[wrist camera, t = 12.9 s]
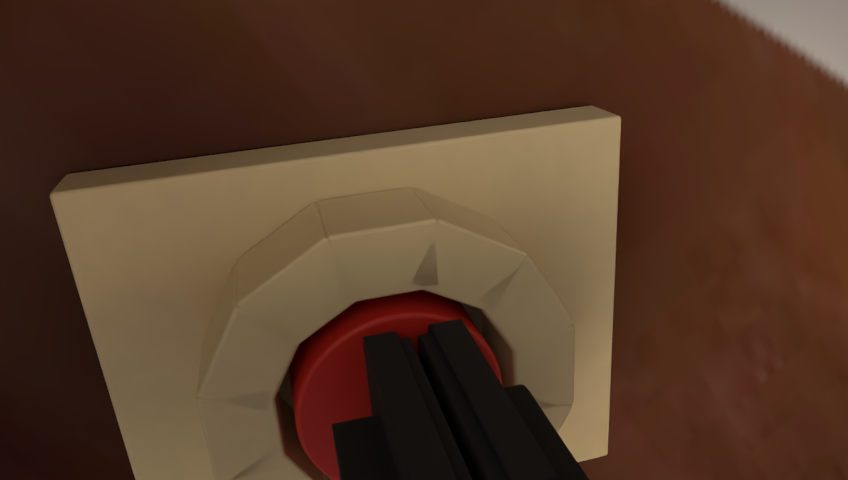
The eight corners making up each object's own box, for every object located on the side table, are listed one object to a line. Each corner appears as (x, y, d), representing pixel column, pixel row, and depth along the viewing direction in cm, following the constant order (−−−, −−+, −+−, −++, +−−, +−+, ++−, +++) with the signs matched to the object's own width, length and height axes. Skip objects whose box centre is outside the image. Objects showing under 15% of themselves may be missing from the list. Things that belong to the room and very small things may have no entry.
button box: (165, 522, 15) (149, 644, 12) (64, 173, 12) (12, 234, 9) (585, 424, 17) (651, 512, 14) (592, 104, 14) (678, 137, 11)
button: (303, 451, 13) (311, 515, 12) (274, 288, 12) (279, 337, 10) (476, 413, 14) (506, 469, 12) (468, 255, 13) (500, 296, 11)
